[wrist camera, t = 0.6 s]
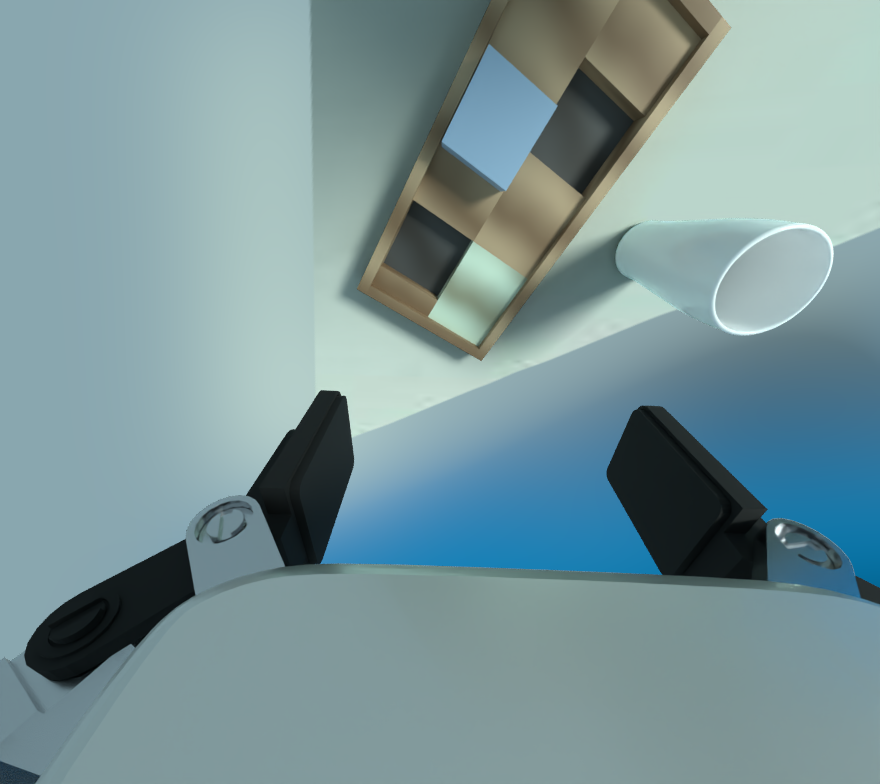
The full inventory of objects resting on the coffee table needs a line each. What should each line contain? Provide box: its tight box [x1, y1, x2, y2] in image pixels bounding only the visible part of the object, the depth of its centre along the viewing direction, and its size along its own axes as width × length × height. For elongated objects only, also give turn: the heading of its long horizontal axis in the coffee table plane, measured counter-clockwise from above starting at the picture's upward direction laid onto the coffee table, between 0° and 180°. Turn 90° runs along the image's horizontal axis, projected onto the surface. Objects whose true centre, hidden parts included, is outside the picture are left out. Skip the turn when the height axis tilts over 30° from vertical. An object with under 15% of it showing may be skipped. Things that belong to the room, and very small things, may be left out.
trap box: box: [357, 0, 731, 361], centre depth 28 cm, size 30×15×3 cm, turn 149°
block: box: [442, 44, 557, 192], centre depth 25 cm, size 6×6×3 cm
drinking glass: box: [615, 218, 833, 335], centre depth 26 cm, size 7×7×15 cm
